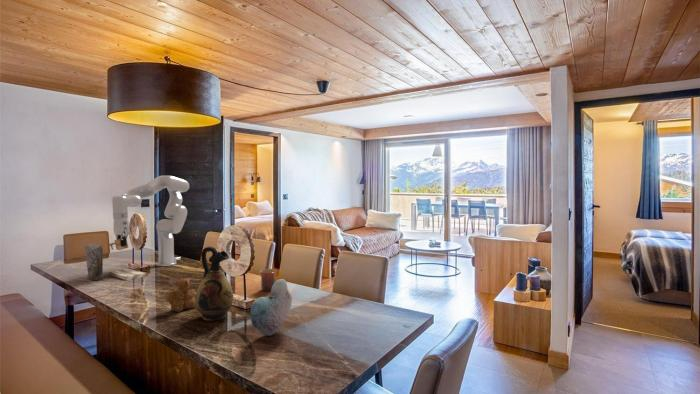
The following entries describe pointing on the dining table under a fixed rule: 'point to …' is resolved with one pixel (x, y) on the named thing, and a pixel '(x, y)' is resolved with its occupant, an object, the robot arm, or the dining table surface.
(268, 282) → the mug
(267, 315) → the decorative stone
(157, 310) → the dining table surface
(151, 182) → the robot arm
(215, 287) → the ceramic jug
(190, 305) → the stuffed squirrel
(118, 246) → the marking gauge
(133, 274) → the birch board
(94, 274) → the stone block
